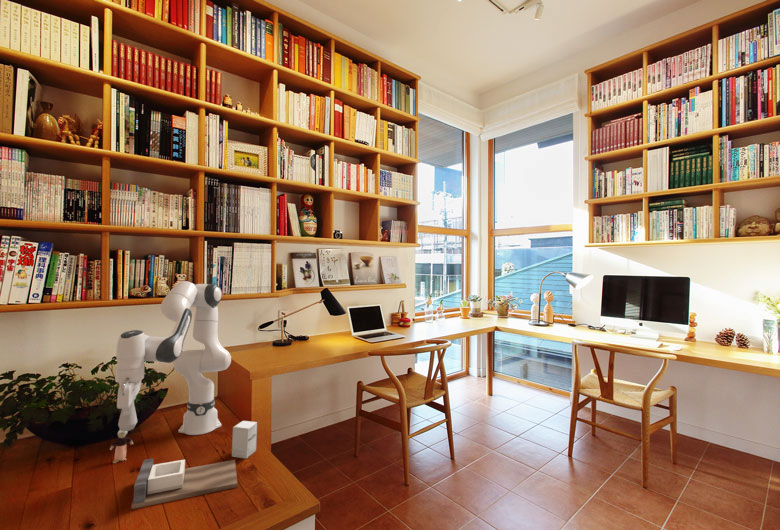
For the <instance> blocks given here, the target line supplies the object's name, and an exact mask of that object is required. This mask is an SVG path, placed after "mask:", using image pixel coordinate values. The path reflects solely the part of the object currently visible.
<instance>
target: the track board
mask: <svg viewBox="0 0 780 530" xmlns="http://www.w3.org/2000/svg"><path fill="white" fill-rule="evenodd" d="M153 465H154V458H153V457H152V458H147V459H144V460H143V461H142V465H141V467H140V469H139V473H138V475H137V477H136V480H135V483H134V485H133V498H132V499H133V500H132V501H131V508H130V509H131V510H136V509H139V508H140V509H141V508H144V507H149V506H154V505H159V504H164V503H167V502H175V501H177V500H183V499H188V498H191V497H192V498H193V497H197V496H201V495H206V494H211V492H212V493H215V492H221V491H226V490H229V489H235V488H236V489H237V488H238V476H237V475H238V474H237V467H236V466H237V465H236V459H231V460H225V461H220V462H215V463H209V464H204V465H203V464H202V465H198V466H192V467H187V468H186V467H185V473H184V480H183V486H182V488H178V489H173V490H168V491H163V492H158V493H153V494H148V495H147V491H148V478H149V475H150V472H151V469H152V466H153Z"/></svg>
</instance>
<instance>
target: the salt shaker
mask: <svg viewBox="0 0 780 530" xmlns="http://www.w3.org/2000/svg"><path fill="white" fill-rule="evenodd" d="M136 399H137V395H136V394H135V396H134V401H133V402H132V403H131V405H130V414H129V415H126V416H124V411H123V408H122V409H120V415H119V419H118V423H117V426H118V428H119V430H121V431H127V432H129V431H132V430H134V429H135V427H136V425H137V424H138V418H137V412H136V406H135V400H136Z"/></svg>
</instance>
